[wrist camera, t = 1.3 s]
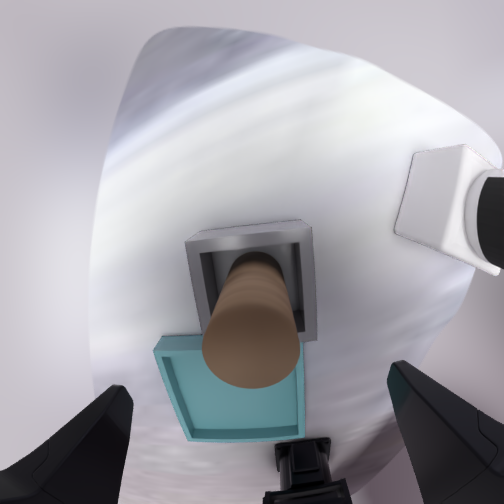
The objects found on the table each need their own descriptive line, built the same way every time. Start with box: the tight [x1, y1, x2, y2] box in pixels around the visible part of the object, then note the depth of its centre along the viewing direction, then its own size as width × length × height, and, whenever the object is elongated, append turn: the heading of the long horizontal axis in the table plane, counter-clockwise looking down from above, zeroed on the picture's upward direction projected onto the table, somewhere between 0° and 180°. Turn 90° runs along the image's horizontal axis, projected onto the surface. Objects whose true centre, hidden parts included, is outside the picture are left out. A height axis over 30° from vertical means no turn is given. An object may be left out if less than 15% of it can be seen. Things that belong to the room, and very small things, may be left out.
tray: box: [153, 335, 305, 443], centre depth 23 cm, size 12×12×2 cm
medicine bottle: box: [394, 144, 504, 276], centre depth 14 cm, size 7×7×12 cm
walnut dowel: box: [202, 251, 300, 389], centre depth 16 cm, size 4×4×10 cm
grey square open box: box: [185, 220, 317, 343], centre depth 19 cm, size 8×8×4 cm
